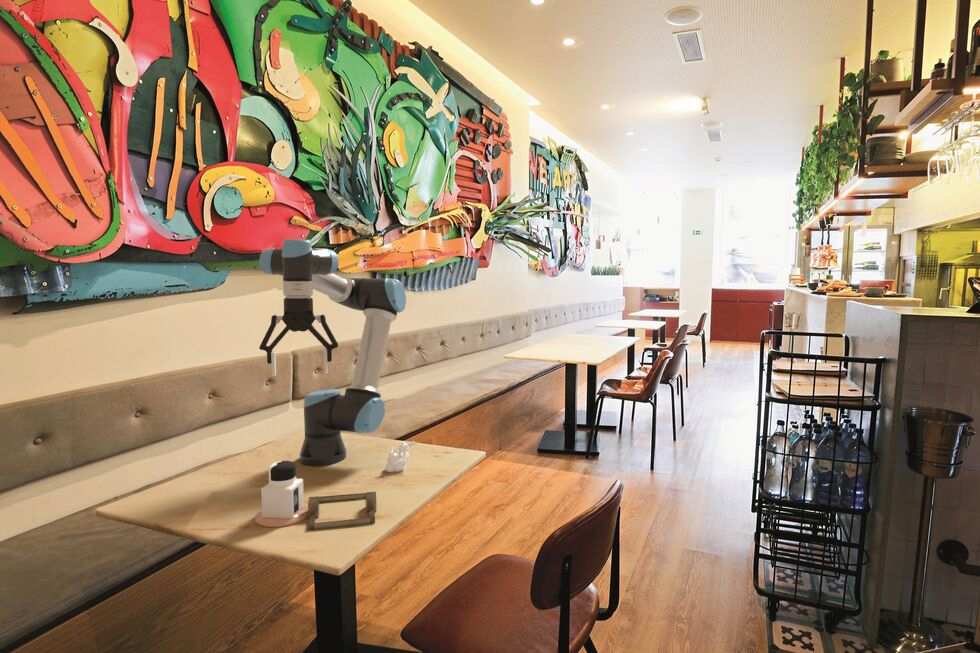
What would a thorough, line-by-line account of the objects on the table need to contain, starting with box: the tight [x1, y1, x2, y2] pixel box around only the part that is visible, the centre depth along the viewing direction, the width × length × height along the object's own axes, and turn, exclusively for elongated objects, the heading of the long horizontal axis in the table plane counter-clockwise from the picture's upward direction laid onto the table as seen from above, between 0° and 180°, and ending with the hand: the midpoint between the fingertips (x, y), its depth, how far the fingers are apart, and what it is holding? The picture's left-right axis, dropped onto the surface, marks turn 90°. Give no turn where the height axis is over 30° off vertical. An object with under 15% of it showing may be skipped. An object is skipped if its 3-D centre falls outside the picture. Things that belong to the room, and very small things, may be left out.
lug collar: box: [307, 491, 377, 531], centre depth 145 cm, size 17×17×4 cm
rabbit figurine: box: [385, 440, 416, 473], centre depth 177 cm, size 12×8×10 cm, turn 147°
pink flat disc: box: [254, 504, 308, 528], centre depth 142 cm, size 13×13×1 cm
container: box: [261, 460, 305, 519], centre depth 142 cm, size 8×8×13 cm
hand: (300, 374), depth 152 cm, fingers open, 13 cm apart
